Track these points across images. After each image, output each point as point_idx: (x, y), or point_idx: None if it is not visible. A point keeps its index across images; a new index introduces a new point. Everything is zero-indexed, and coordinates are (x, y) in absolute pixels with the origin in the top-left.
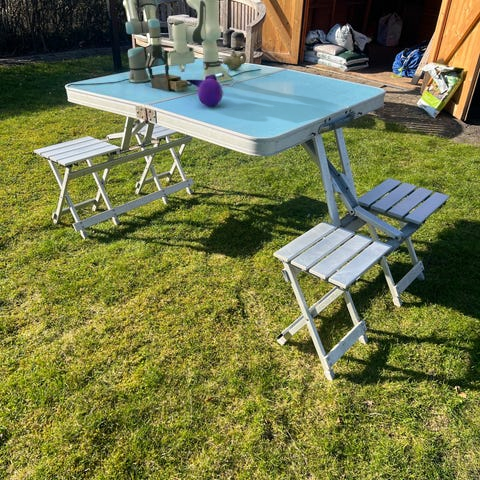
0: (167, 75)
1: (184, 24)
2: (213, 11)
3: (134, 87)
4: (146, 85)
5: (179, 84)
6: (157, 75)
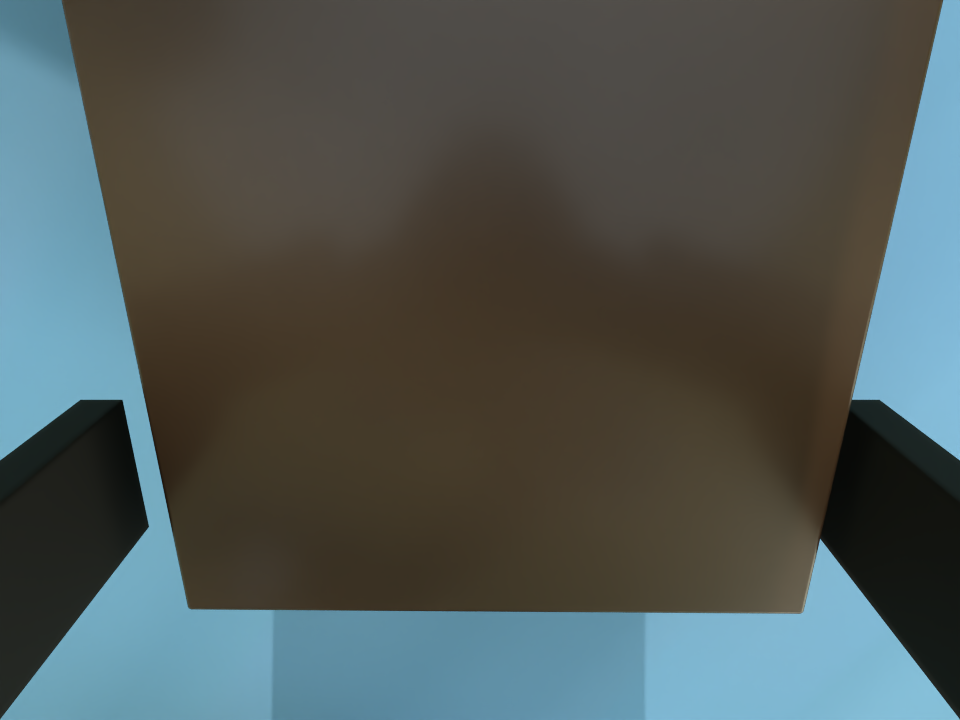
0: (326, 40)
1: None
2: None
3: (890, 663)
4: (611, 643)
5: None
6: (644, 421)
